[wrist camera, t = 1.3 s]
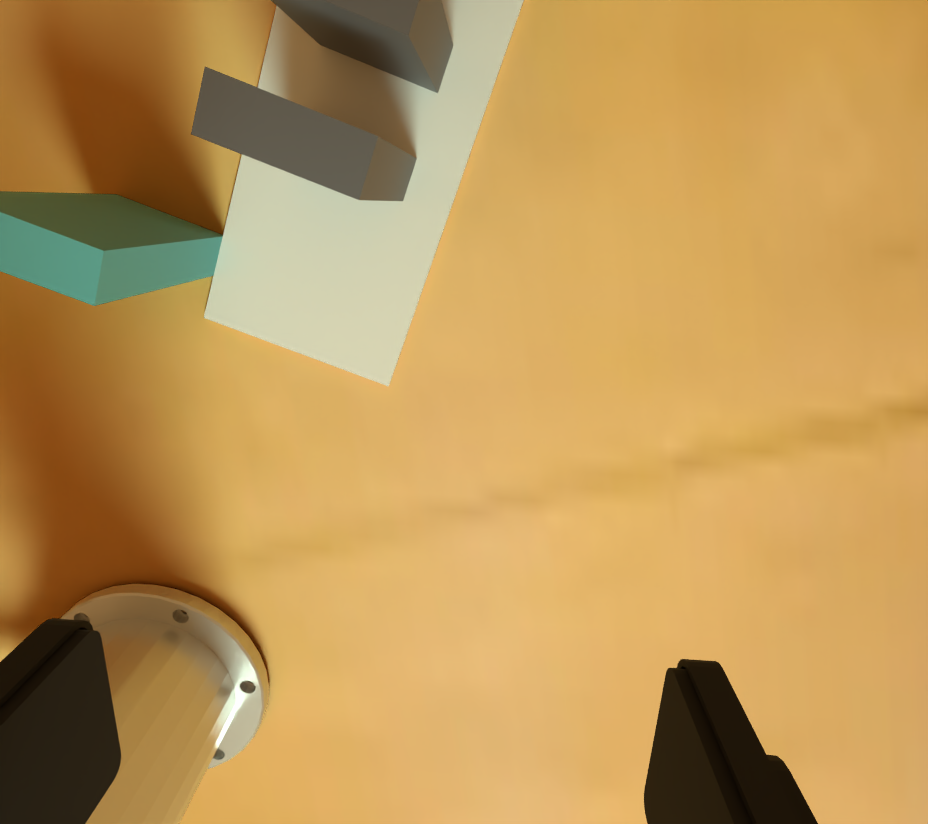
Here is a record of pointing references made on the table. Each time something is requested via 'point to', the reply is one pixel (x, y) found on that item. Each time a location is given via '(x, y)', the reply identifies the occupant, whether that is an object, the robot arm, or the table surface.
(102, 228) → the domino
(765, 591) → the table surface
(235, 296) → the plate
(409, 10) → the domino
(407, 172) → the domino
